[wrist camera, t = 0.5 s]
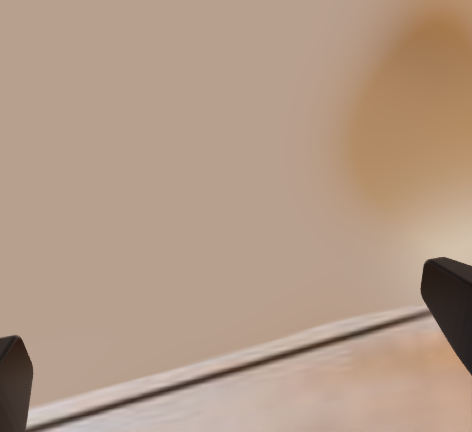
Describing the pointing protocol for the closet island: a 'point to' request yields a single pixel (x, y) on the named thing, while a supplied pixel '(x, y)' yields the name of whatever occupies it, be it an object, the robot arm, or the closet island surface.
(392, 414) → the closet island surface
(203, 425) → the closet island surface
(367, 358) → the closet island surface
